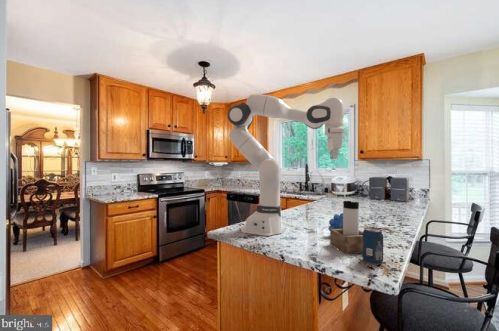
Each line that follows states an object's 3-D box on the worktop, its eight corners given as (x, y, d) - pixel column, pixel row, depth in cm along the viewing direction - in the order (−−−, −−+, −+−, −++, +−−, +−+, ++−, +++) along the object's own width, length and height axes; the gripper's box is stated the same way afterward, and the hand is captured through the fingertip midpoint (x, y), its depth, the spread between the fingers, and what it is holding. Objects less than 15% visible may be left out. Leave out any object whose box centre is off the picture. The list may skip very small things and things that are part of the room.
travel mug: (340, 246, 101) (340, 200, 101) (345, 242, 106) (346, 198, 106) (355, 249, 97) (356, 201, 97) (360, 245, 102) (360, 200, 102)
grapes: (349, 234, 122) (349, 211, 122) (353, 238, 115) (354, 214, 115) (326, 233, 124) (326, 210, 124) (329, 237, 117) (329, 213, 117)
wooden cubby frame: (344, 253, 95) (344, 236, 95) (330, 244, 106) (330, 229, 106) (371, 252, 97) (371, 235, 97) (355, 243, 108) (355, 228, 108)
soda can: (366, 256, 92) (366, 226, 92) (385, 261, 87) (386, 229, 87) (359, 261, 88) (359, 229, 88) (379, 267, 83) (379, 233, 83)
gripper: (324, 134, 127) (324, 159, 127) (330, 128, 107) (330, 158, 107) (337, 134, 126) (336, 159, 126) (345, 127, 106) (344, 158, 106)
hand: (333, 159), depth 116 cm, fingers open, 8 cm apart
